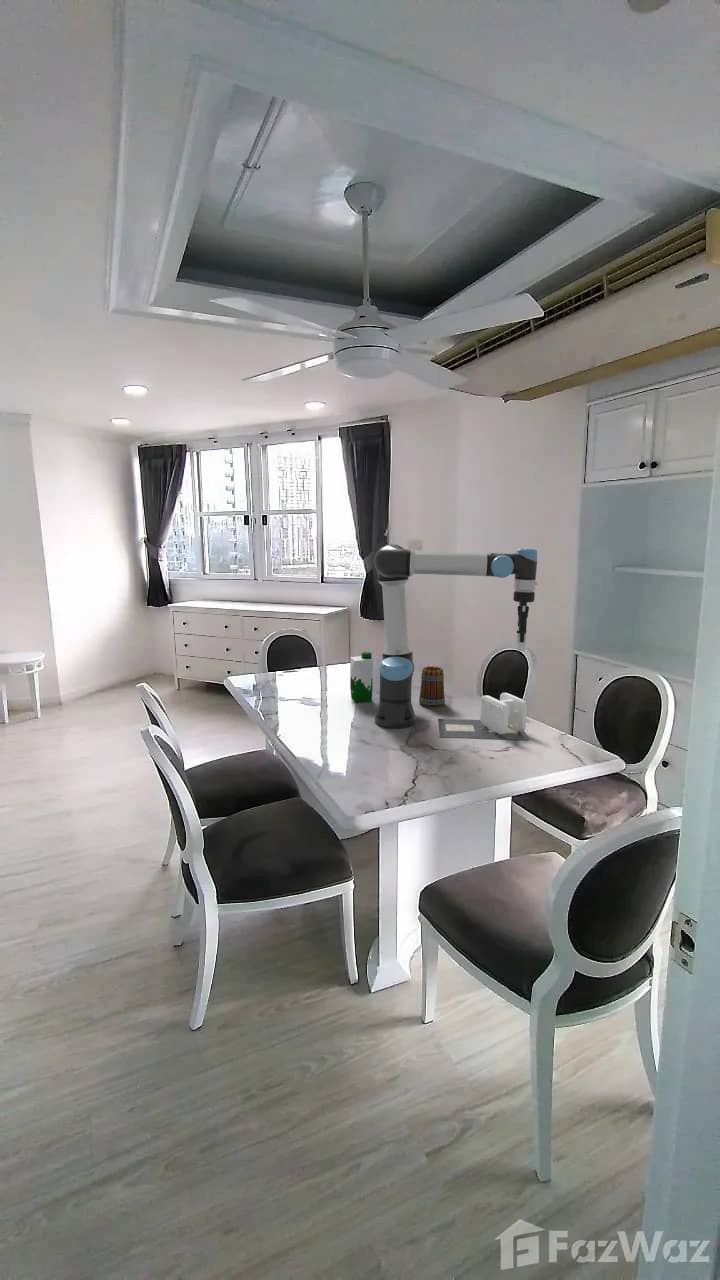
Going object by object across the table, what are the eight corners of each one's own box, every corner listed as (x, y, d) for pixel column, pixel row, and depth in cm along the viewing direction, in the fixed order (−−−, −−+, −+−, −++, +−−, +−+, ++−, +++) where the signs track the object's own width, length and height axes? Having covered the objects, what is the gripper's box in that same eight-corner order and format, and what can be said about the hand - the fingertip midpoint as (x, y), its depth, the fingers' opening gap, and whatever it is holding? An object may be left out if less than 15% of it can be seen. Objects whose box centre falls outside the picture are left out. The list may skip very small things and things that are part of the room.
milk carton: (374, 702, 250) (374, 655, 246) (353, 703, 247) (353, 656, 244) (369, 696, 258) (369, 650, 254) (348, 698, 256) (348, 651, 252)
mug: (446, 708, 242) (447, 671, 240) (419, 707, 243) (420, 671, 240) (441, 697, 258) (442, 662, 255) (416, 697, 258) (417, 662, 255)
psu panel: (439, 737, 209) (439, 736, 209) (437, 719, 228) (437, 718, 228) (528, 740, 206) (528, 739, 206) (518, 721, 226) (518, 721, 226)
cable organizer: (527, 734, 212) (529, 702, 209) (501, 737, 208) (503, 705, 206) (502, 721, 225) (504, 691, 223) (478, 724, 222) (479, 693, 219)
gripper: (536, 594, 210) (532, 654, 214) (533, 588, 234) (529, 641, 238) (514, 594, 212) (510, 653, 216) (513, 587, 236) (510, 640, 240)
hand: (520, 647), depth 227 cm, fingers open, 13 cm apart
